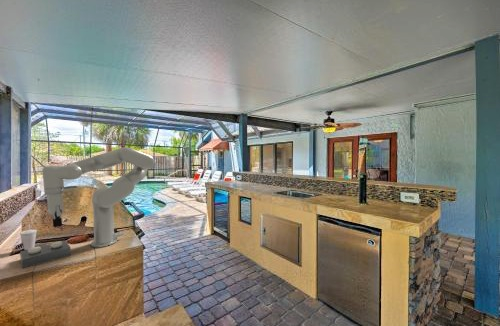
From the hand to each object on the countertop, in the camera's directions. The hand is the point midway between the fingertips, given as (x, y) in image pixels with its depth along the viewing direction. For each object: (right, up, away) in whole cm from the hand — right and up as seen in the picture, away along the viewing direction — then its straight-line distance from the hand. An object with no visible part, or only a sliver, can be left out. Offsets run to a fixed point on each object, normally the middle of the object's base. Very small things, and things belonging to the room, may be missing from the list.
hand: (57, 226), depth 112 cm
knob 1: (-6, -13, -6) cm, 15 cm away
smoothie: (-20, -14, +6) cm, 25 cm away
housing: (-3, -15, -3) cm, 15 cm away
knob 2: (-1, -12, 0) cm, 12 cm away
